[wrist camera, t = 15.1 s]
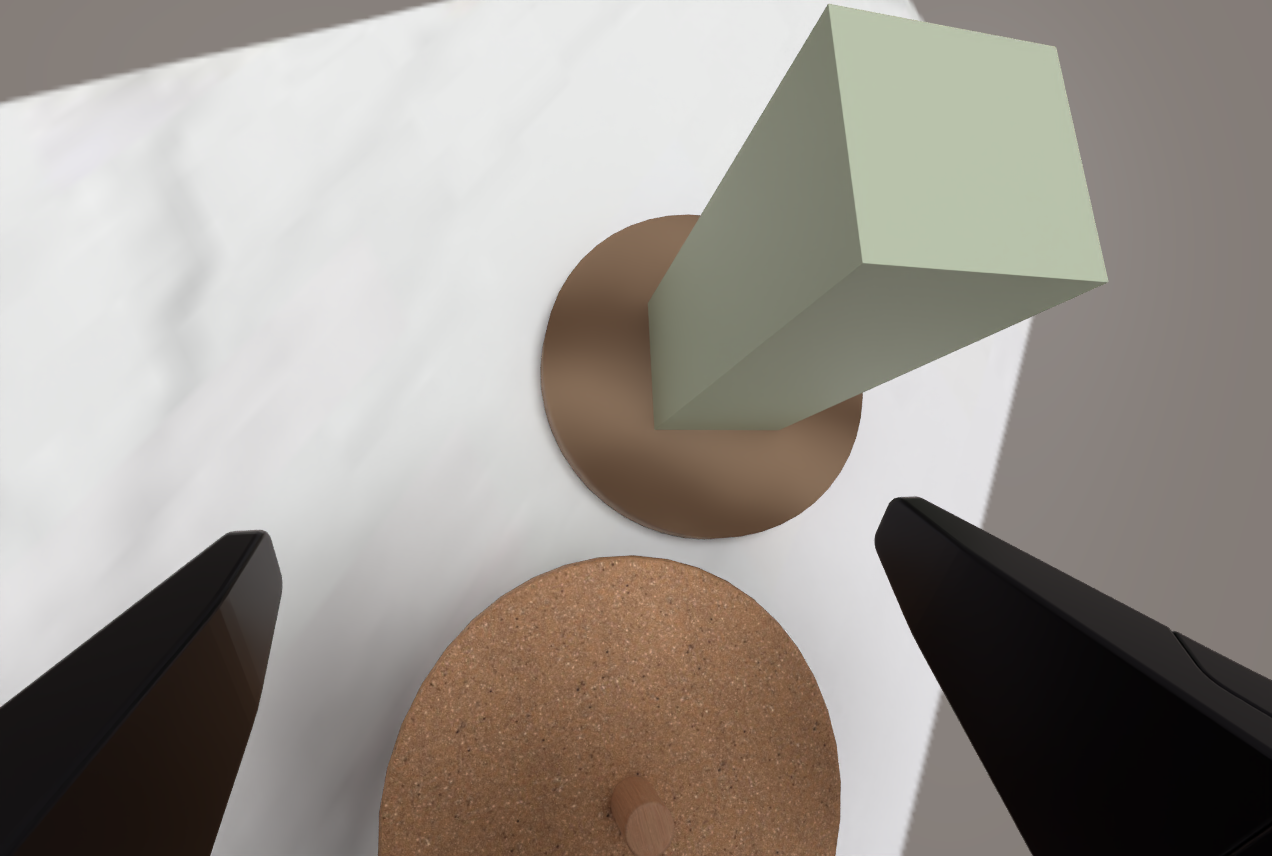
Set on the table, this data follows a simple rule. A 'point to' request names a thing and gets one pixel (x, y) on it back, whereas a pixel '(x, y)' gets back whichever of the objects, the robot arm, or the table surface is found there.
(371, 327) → the table surface
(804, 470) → the disc
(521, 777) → the lidded jar
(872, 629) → the table surface
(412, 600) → the table surface
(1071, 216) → the post
